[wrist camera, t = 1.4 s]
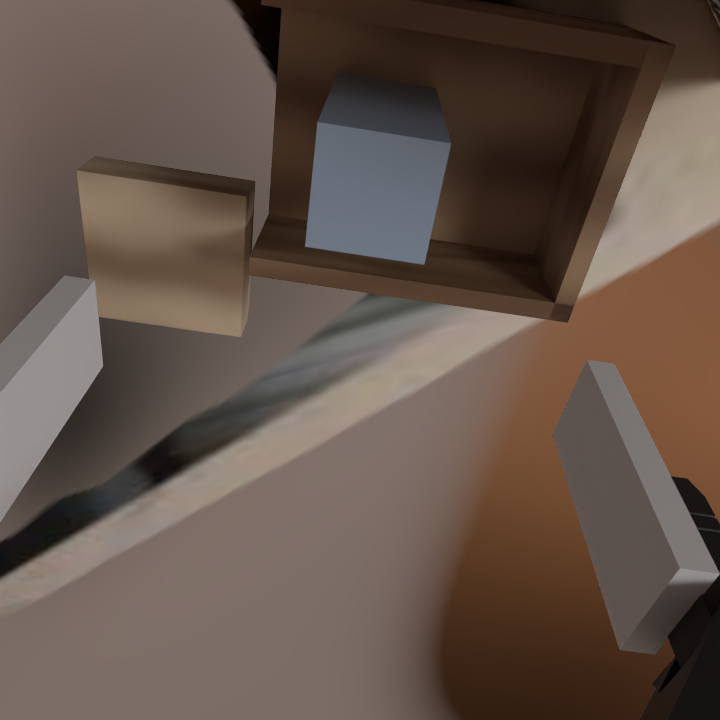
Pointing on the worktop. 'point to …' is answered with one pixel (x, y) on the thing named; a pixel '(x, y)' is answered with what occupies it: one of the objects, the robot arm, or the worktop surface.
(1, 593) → the worktop surface
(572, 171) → the open wooden box
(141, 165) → the stand
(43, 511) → the worktop surface
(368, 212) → the block
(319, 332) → the worktop surface
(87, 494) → the worktop surface
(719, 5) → the protein powder
